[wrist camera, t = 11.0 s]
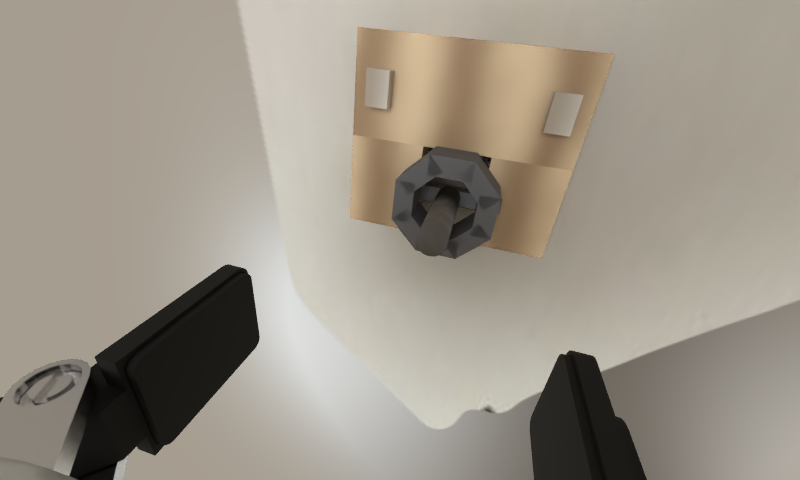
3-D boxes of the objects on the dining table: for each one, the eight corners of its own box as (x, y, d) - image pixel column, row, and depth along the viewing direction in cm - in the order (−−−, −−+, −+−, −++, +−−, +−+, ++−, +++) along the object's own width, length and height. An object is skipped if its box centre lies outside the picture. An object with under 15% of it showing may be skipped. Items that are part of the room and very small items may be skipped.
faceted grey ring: (508, 157, 23) (509, 167, 21) (484, 246, 27) (483, 265, 24) (408, 141, 25) (398, 149, 22) (398, 228, 28) (388, 244, 25)
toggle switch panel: (601, 56, 22) (682, 42, 12) (537, 241, 29) (558, 325, 19) (372, 32, 25) (295, 4, 15) (361, 206, 31) (303, 263, 22)
